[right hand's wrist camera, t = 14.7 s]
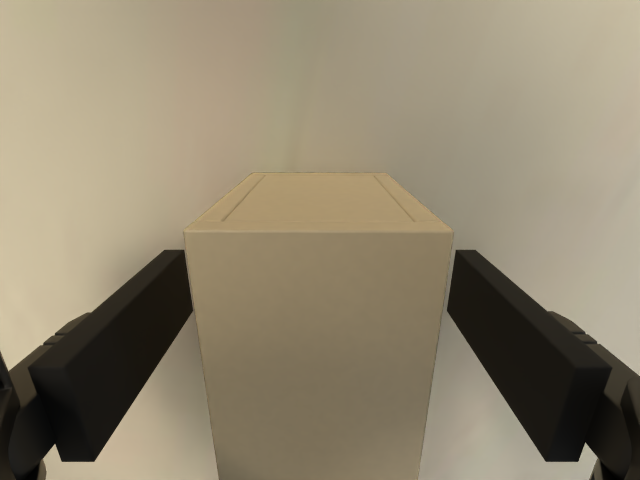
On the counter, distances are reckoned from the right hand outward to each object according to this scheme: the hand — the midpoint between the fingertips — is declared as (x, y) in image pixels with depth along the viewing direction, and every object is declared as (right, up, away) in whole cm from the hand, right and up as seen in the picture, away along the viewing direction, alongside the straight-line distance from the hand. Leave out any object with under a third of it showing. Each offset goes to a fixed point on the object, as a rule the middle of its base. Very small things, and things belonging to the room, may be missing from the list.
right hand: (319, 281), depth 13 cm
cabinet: (0, -3, +5) cm, 6 cm away
